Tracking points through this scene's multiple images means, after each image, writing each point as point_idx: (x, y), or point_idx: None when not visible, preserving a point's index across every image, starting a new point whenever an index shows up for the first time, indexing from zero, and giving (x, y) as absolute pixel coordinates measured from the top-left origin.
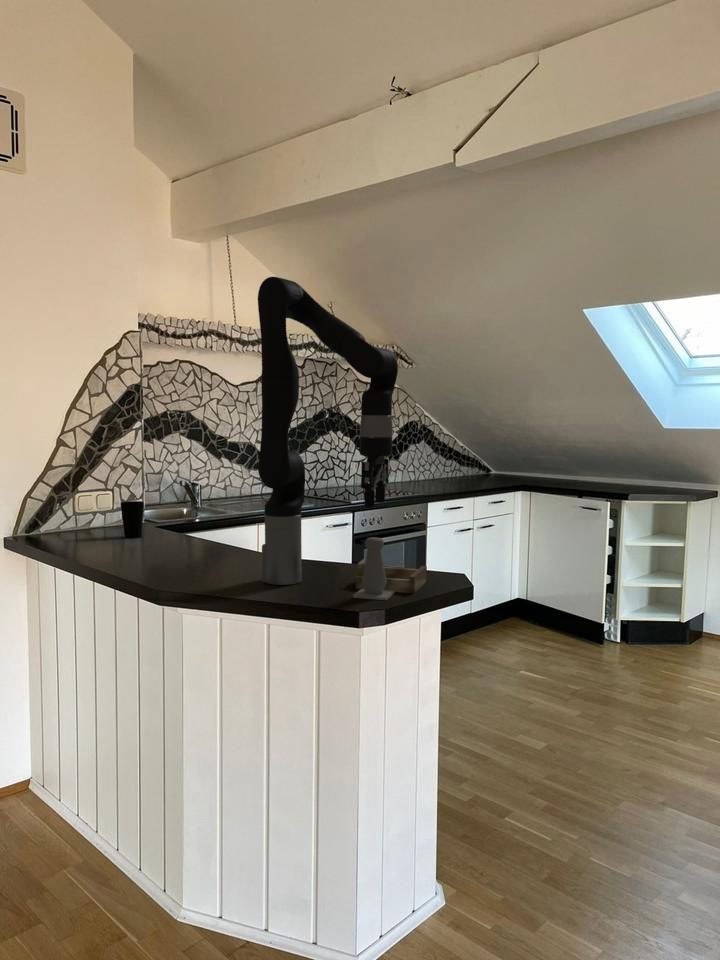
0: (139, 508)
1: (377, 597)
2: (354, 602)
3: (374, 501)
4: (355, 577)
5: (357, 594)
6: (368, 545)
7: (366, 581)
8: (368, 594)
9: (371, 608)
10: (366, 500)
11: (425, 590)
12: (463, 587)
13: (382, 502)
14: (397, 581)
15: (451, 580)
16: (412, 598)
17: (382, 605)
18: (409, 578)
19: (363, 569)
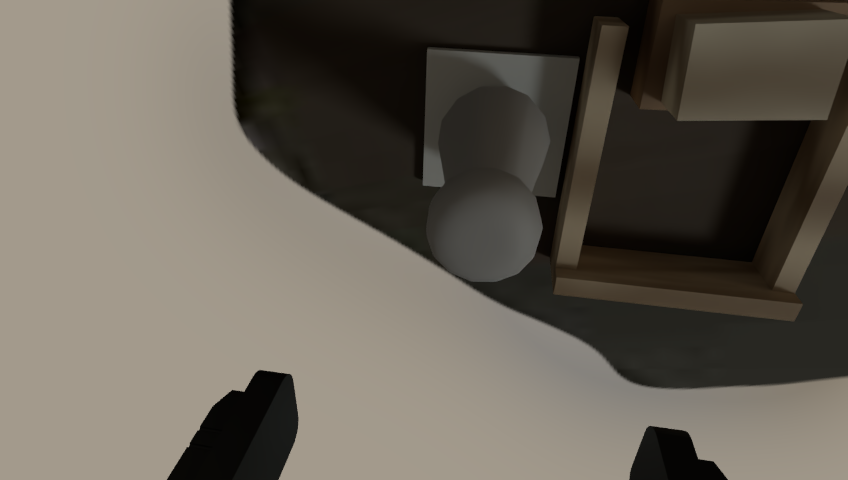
0: None
1: (424, 152)
2: (360, 72)
3: (276, 473)
4: (661, 1)
5: (442, 65)
6: (434, 198)
7: (444, 120)
8: None
9: (305, 152)
10: (203, 432)
11: None
12: (665, 387)
13: (632, 471)
14: (564, 219)
15: (783, 356)
16: None
17: (355, 180)
18: (774, 225)
19: (679, 53)
